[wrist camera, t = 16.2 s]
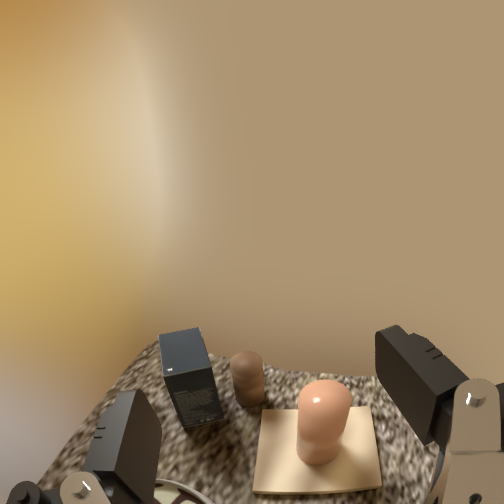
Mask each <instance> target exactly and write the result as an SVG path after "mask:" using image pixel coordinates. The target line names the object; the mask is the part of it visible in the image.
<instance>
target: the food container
mask: <svg viewBox="0 0 504 504" xmlns="http://www.w3.org/2000/svg"><path fill="white" fill-rule="evenodd" d="M153 504H215V503H213V502H212V501H211V500H210V499H208V498H207V497H206V496H204V495H203V494H201V493H199V492H198V491H196V490H194V489H192V488H190V487H188V486H185V485H183V484H180V483H177V482H174V481H170V480H165V479H156V482H155V491H154V500H153Z"/></svg>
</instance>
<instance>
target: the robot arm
mask: <svg viewBox="0 0 504 504" xmlns="http://www.w3.org/2000/svg"><path fill="white" fill-rule="evenodd" d="M375 353H376V354H375V367H376V373H377V376H378V379H379V381H380V383H381V384H382V386H383V387H384V389H385V390H386V391H387V393H388V394H389V396H390V397H391V399H392V400H393V401H394V403H395V404H396V406H397V407H398V409H399V410H400V412H401V413H402V414H403V416H404V417H405V419H406V420H407V422H408V423H409V425H410V426H411V428H412V429H413V431H414V432H415V433H416V435H417V436H418V438H419V439H420V441H421V442H422V444H423V445H424V446H425V445H427V444H429V443H431V442H433V441H436V443H437V444H438V445H439V447H438V450H437V455H436V460H435V465H434V470H433V474H432V479H431V483H430V487H429V491H428V495H427V498H426V501H425V504H504V383H501V384H498V385H494V384H493V383H491V382H490V381H487V380H485V379H469V378H468V377H467V376H466V375H465V374H464V373H463V372H462V371H461V370H460V369H459V368H458V367H457V366H455V365H454V364H453V363H452V362H451V361H450V360H449V359H448V358H447V357H446V356H445V355H443V354H442V352H441V351H440V350H439V349H438V348H435V346H434V345H433V344H432V343H431V342H430V341H429V340H427V338H424V337H422V336H420V335H417V334H415V333H413V334H410V335H408V334H407V333H406V332H405V331H404V330H403V329H402V328H401V327H400V326H398V325H394V326H391V327H389V328H386V329H383V330H380V331H378V332H376V335H375ZM93 437H94V439H92V442H91V444H90V447H89V450H88V453H87V456H86V459H85V462H84V465H83V468H82V471H81V472H76V473H74V474H72V475H70V476H68V477H67V478H66V479H65V480H64V482H63V483H62V485H61V488H57V489H51V490H45V491H42V490H41V489H40V488H39V487H38V486H37V485H36V484H35V483H33V482H30V481H23V482H21V483H18V484H17V485H16V486H15V487H14V488H13V489H12V490H11V492H10V495H9V498H8V500H7V503H6V504H153V500H154V491H155V482H156V474H157V467H158V459H159V452H160V445H161V438H162V428H161V424H160V421H159V419H158V417H157V415H156V414H155V412H154V410H153V408H152V407H151V405H150V403H149V401H148V400H147V398H146V396H145V394H144V393H143V391H142V390H141V389H133V390H125V391H119V392H118V394H117V396H116V399H115V402H114V405H113V406H109V407H108V408H107V410H106V411H105V412H104V413H103V414H102V416H101V417H100V420H99V422H98V425H97V430H95V433H94V436H93Z"/></svg>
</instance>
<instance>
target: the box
mask: <svg viewBox="0 0 504 504" xmlns="http://www.w3.org/2000/svg"><path fill="white" fill-rule="evenodd" d="M158 339H159V346H160V353H161V362H162V371H163V378H164V381H165V383H166V386H167V389H168V392H169V394H170V397H171V399H172V402H173V404H174V407H175V409H176V412H177V414H178V417H179V419H180V422H181V424H182V426H183V428H186V427H191V426H196V425H201V424H206V423H211V422H215V421H219V420H222V419H223V414H222V410H221V406H220V402H219V397H218V393H217V388H216V384H215V380H214V375H213V371H212V366H211V363H210V360H209V357H208V354H207V350H206V347H205V344H204V341H203V337H202V334H201V331H200V328H199V327H197V328H192V329H187V330H182V331H177V332H172V333H166V334H161V335H159V336H158Z"/></svg>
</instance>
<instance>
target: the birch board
mask: <svg viewBox="0 0 504 504" xmlns="http://www.w3.org/2000/svg"><path fill="white" fill-rule="evenodd" d="M297 423H298V410H275V409H263V410H262V418H261V427H260V435H259V443H258V451H257V459H256V467H255V475H254V483H253V490H252V491H253V493H256V494H282V495H302V494H328V493H342V492H353V491H362V490H370V489H377V488H380V487H381V486H382V482H381V474H380V466H379V459H378V452H377V445H376V439H375V433H374V427H373V421H372V415H371V409H370V406H363V407H350V411H349V415H348V419H347V423H346V427H345V430H344V434H343V438H342V441H341V445H340V448H339V452H338V454H337V456H336V457H335V458H334V459H333V460H332V461H331V462H329V463H327V464H324V465H319V466H315V465H309V464H307V463H305V462H303V461H302V460H301V459H300V458H299V457H298V455H297V451H296V444H297Z"/></svg>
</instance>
